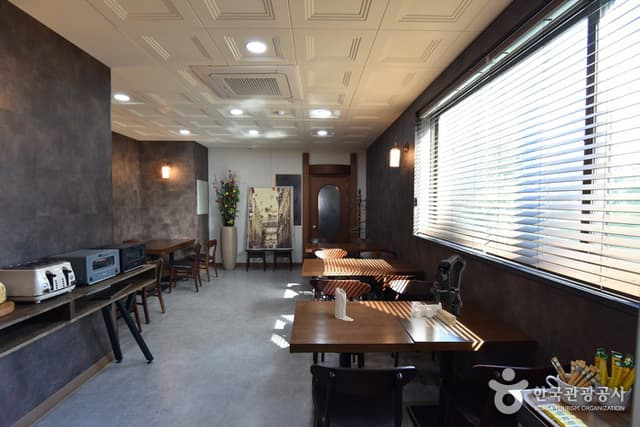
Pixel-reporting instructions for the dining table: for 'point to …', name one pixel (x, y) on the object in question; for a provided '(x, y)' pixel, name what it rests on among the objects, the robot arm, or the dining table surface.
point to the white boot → (341, 305)
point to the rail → (446, 317)
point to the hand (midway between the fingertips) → (444, 303)
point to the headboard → (426, 310)
